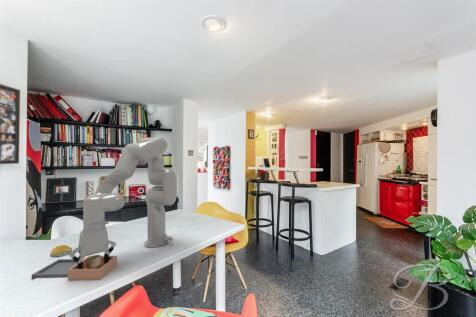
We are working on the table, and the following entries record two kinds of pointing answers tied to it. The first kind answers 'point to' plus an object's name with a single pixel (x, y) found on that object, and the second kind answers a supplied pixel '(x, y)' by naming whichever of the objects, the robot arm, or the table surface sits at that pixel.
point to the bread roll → (60, 251)
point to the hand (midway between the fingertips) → (93, 267)
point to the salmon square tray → (92, 270)
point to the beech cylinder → (94, 262)
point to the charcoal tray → (55, 269)
